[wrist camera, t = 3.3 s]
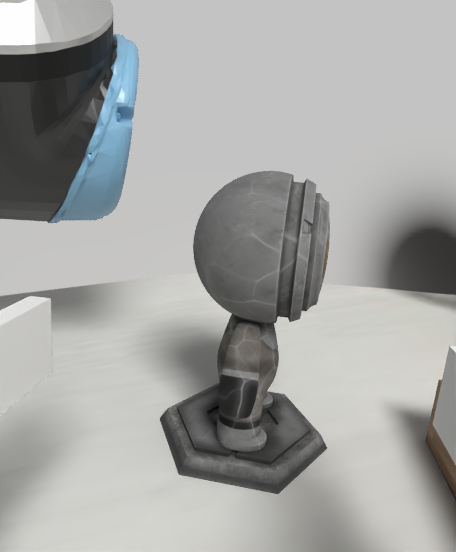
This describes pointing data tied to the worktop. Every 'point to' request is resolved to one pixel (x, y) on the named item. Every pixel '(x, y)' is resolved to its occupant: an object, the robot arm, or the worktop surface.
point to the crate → (441, 449)
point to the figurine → (253, 332)
